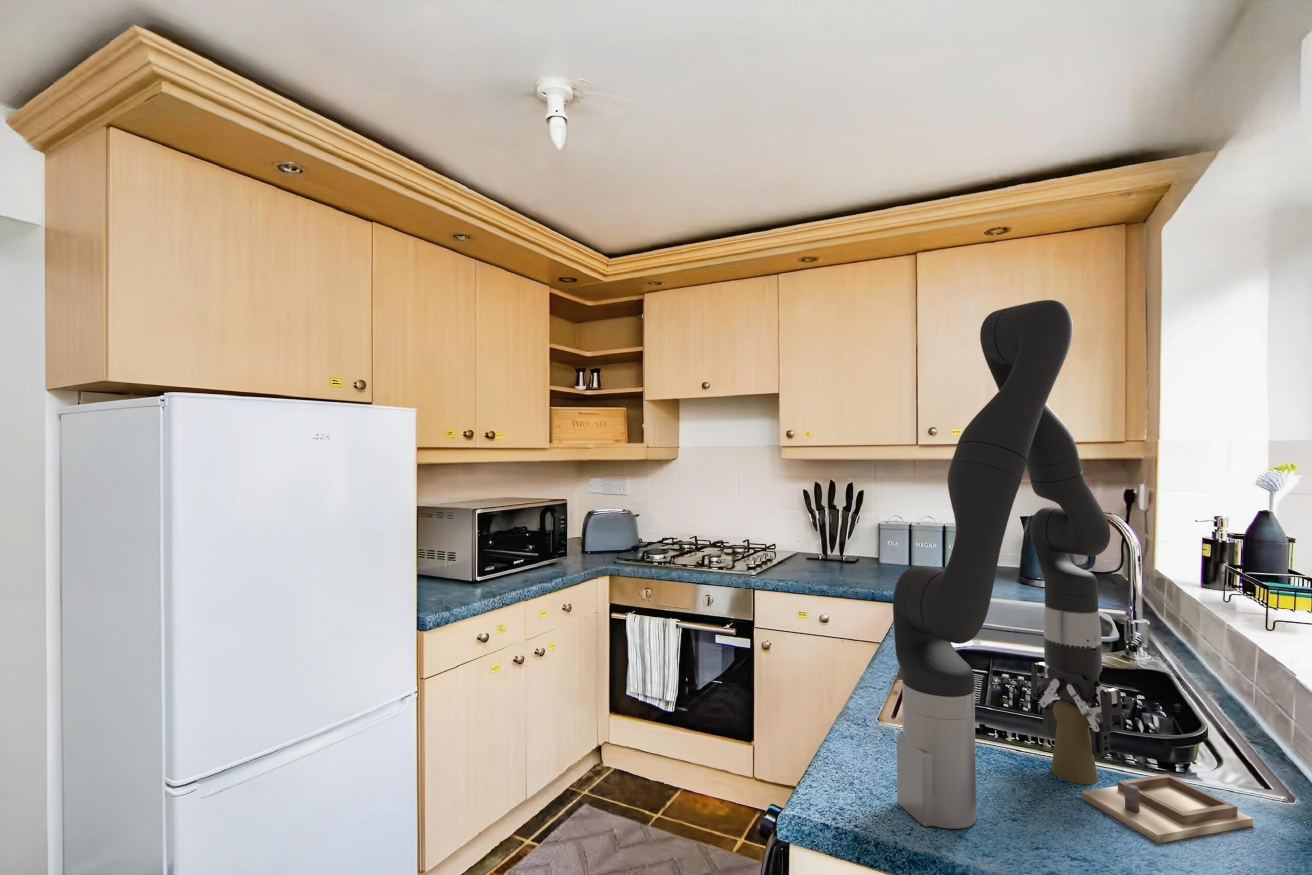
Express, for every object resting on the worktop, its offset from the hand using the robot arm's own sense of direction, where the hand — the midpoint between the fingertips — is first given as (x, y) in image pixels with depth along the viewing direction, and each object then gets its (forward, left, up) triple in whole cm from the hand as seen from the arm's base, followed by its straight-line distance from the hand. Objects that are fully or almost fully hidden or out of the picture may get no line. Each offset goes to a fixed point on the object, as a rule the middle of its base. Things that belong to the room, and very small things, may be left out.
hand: (1075, 742), depth 99 cm
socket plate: (+3, -12, -5) cm, 13 cm away
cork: (0, 0, -5) cm, 5 cm away
